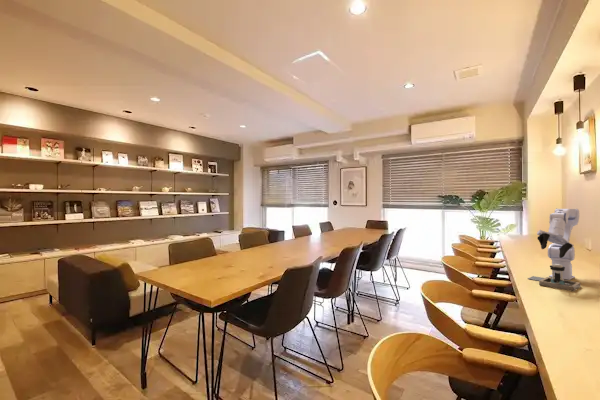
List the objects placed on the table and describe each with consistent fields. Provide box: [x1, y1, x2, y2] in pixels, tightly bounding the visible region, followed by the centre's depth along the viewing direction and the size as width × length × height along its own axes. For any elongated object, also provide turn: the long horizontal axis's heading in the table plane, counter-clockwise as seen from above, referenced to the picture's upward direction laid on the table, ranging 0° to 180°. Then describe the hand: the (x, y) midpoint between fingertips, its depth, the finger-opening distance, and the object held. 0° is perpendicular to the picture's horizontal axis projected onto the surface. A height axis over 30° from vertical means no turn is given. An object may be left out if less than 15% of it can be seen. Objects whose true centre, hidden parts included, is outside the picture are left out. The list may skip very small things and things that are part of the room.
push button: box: [549, 263, 566, 285], centre depth 132 cm, size 7×5×10 cm
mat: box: [527, 275, 545, 282], centre depth 143 cm, size 8×7×1 cm
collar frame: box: [538, 277, 582, 292], centre depth 132 cm, size 11×12×2 cm
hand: (552, 252), depth 133 cm, fingers open, 7 cm apart
